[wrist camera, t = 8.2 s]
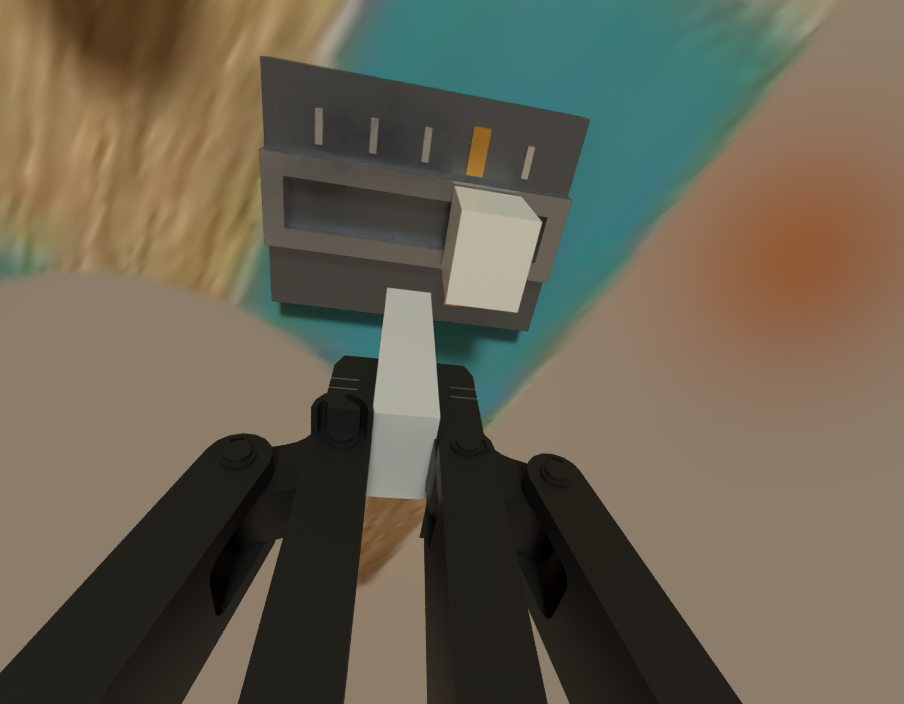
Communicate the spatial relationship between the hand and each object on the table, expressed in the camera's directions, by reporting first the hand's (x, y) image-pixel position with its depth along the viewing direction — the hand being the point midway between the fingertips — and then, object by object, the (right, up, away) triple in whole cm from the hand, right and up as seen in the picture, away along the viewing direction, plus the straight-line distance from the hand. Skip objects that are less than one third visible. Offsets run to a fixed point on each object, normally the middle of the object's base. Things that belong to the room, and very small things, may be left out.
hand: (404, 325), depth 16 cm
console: (-1, +8, +14) cm, 16 cm away
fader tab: (+3, +7, +12) cm, 15 cm away
